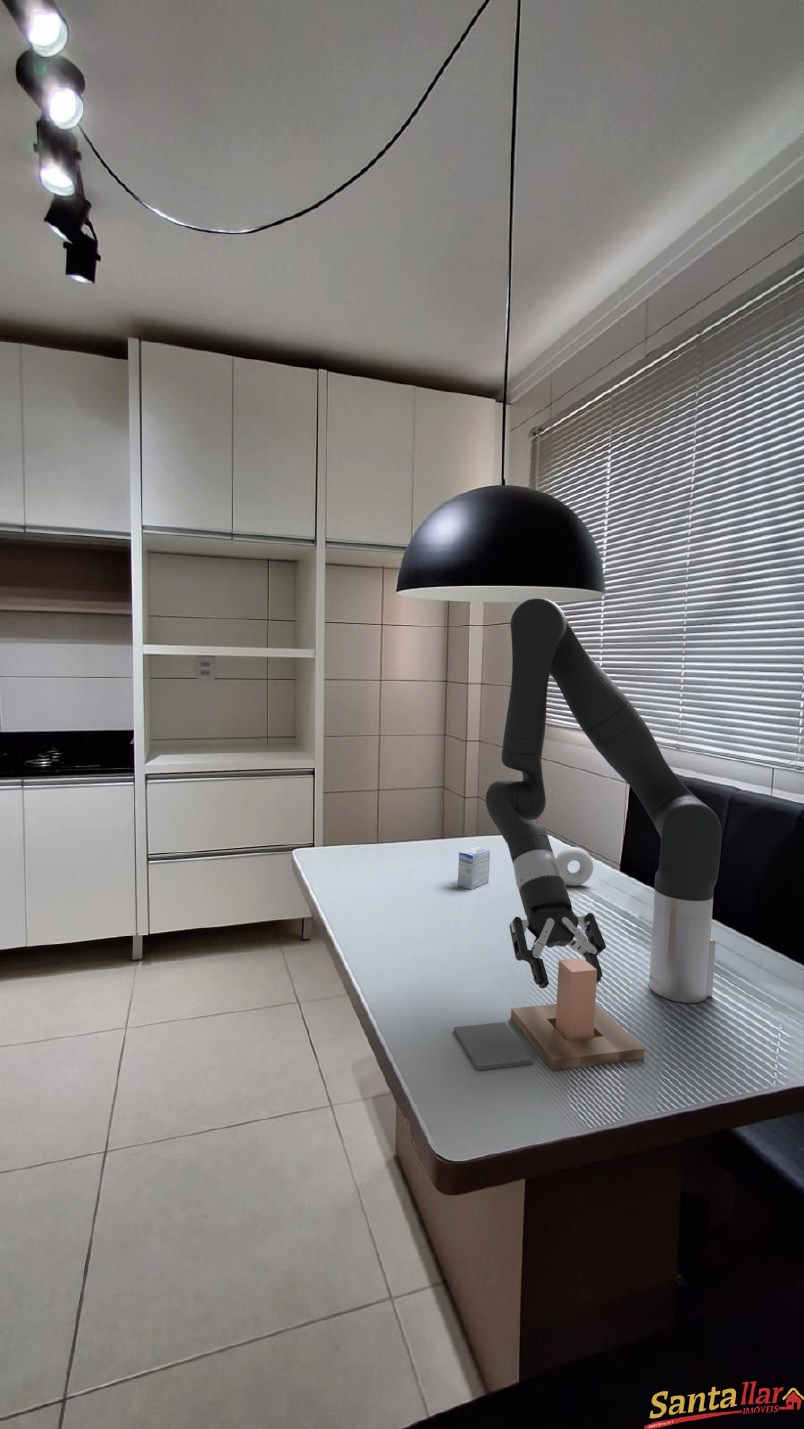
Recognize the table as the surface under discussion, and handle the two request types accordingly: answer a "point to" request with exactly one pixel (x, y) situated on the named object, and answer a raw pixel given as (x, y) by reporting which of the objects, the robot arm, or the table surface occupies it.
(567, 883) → the donut
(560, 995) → the block
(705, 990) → the robot arm
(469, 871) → the medicine box
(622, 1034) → the puzzle board
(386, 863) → the table surface
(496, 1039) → the mat
